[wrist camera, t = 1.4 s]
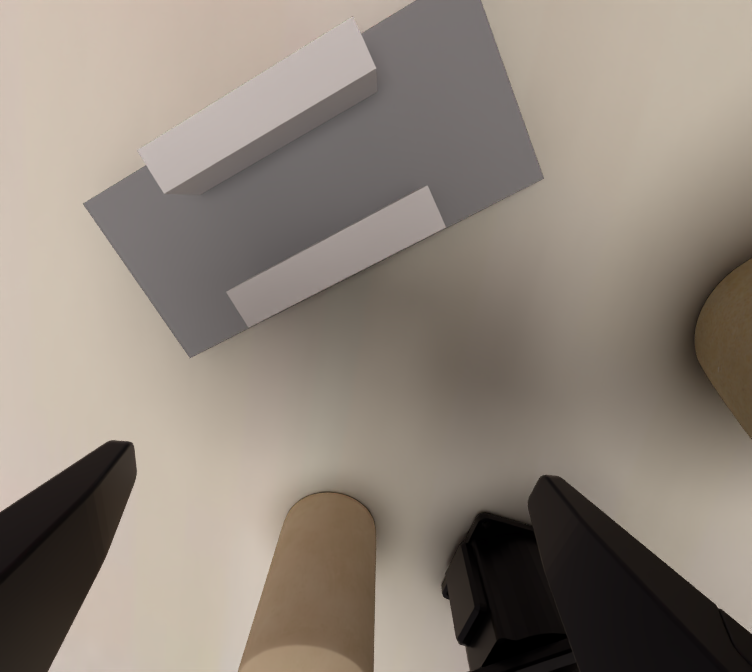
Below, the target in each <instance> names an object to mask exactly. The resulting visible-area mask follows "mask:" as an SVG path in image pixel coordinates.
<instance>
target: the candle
mask: <svg viewBox="0 0 752 672" xmlns="http://www.w3.org/2000/svg"><path fill="white" fill-rule="evenodd" d="M375 572H376V529H375V524H374V521H373V518H372V516H371V514H370V513H369V511H368V510H367V509H366V508H365V507H364V506H363V505H362V504H361V503H360V502H358V501H357V500H355V499H353V498H351V497H349V496H346V495H343V494H339V493H330V492H325V493H317V494H313V495H310V496H307V497H305V498H303V499H302V500H300V501H298V502H297V503H296V504H295V505H294V506H293V507H292V508H291V510H290V511H289V513H288V515H287V516H286V519H285V521H284V524H283V527H282V530H281V533H280V536H279V539H278V543H277V546H276V549H275V552H274V556H273V559H272V562H271V565H270V569H269V572H268V575H267V578H266V582H265V585H264V588H263V591H262V595H261V598H260V601H259V604H258V608H257V611H256V614H255V617H254V621H253V624H252V627H251V630H250V634H249V637H248V640H247V643H246V647H245V650H244V653H243V656H242V660H241V663H240V666H239V669H238V672H374V623H375Z"/></svg>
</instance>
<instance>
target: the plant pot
mask: <svg viewBox="0 0 752 672" xmlns="http://www.w3.org/2000/svg"><path fill="white" fill-rule="evenodd" d="M694 344H695V351H696V356H697V359H698V361H699V363H700V365H701V367H702V369H703V370H704V372H705V374H706V375H707V377H708V379H709V380H710V382H711V383H712V385H713V386H714V388H715V389H716V391H717V392H718V394H719V395H720V397H721V398H722V400H723V401H724V403H725V404H726V405H727V407H728V408H729V409H730V411H731V412H732V414H733V415H734V416H735V418H736V419H737V420H738V422H739V423H740V425H741V426H742V427H743V429H744V430H745V431H746V432H747V434H748V435H749V436H750V438H751V439H752V259H750V260H748V261H746V262H745V263H743V264H742V265H740V266H739V267H737V268H736V269H735V270H733V271H732V272H731V273H730V274H728V275H727V276H726V277H725V278H724V279H723V280H722V281H721V282H720V283H719V284H718V285H717V287H716V288H715V289H714V290H713V292H712V293H711V294H710V296H709V297H708V299H707V300H706V302H705V304H704V306H703V308H702V310H701V312H700V315H699V317H698V320H697V324H696V329H695V342H694Z"/></svg>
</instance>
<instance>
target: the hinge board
mask: <svg viewBox="0 0 752 672" xmlns="http://www.w3.org/2000/svg"><path fill="white" fill-rule="evenodd" d="M137 152H138V153H139V155H140V156H141V158H142V160H143V161H144V163H145V164H146V165H145V166H144V167H142V168H141V169H139V170H137V171H136V172H134V173H132V174H131V175H129V176H127V177H126V178H124V179H123V180H121V181H119V182H118V183H116V184H114V185H113V186H111V187H109V188H108V189H106V190H105V191H103V192H101V193H100V194H98V195H96V196H95V197H93V198H91V199H90V200H88V201H87V202H85V203H83V205H84V206H85V208H86V209H87V210H88V212H89V213H90V215H91V216H92V218H93V219H94V221H95V222H96V223H97V225H98V226H99V228H100V229H101V231H102V232H103V234H104V235H105V236H106V238H107V239H108V241H109V242H110V244H111V245H112V246H113V248H114V249H115V251H116V252H117V254H118V255H119V257H120V258H121V259H122V261H123V262H124V264H125V265H126V267H127V268H128V270H129V271H130V272H131V274H132V275H133V277H134V278H135V280H136V281H137V283H138V284H139V285H140V287H141V288H142V290H143V291H144V293H145V294H146V295H147V297H148V298H149V300H150V301H151V303H152V304H153V306H154V307H155V308H156V310H157V311H158V313H159V314H160V316H161V317H162V319H163V320H164V321H165V323H166V324H167V326H168V327H169V329H170V330H171V332H172V333H173V334H174V336H175V337H176V339H177V340H178V342H179V343H180V344H181V346H182V347H183V349H184V350H185V352H186V353H187V355H188V356H189V357H190V358H191V357H193V356H195V355H197V354H199V353H201V352H203V351H205V350H207V349H209V348H211V347H213V346H215V345H217V344H219V343H221V342H222V341H224V340H226V339H228V338H230V337H232V336H234V335H236V334H238V333H240V332H242V331H244V330H246V329H248V328H250V327H252V326H254V325H256V324H258V323H260V322H262V321H264V320H266V319H268V318H270V317H272V316H274V315H276V314H278V313H280V312H282V311H284V310H286V309H288V308H290V307H292V306H293V305H295V304H297V303H299V302H301V301H303V300H305V299H307V298H309V297H311V296H313V295H315V294H317V293H319V292H321V291H323V290H325V289H327V288H329V287H331V286H333V285H335V284H337V283H339V282H341V281H343V280H345V279H347V278H349V277H351V276H353V275H355V274H357V273H359V272H361V271H362V270H364V269H366V268H368V267H370V266H372V265H374V264H376V263H378V262H380V261H382V260H384V259H386V258H388V257H390V256H392V255H394V254H396V253H398V252H400V251H402V250H404V249H406V248H408V247H410V246H412V245H414V244H416V243H418V242H420V241H422V240H424V239H426V238H428V237H430V236H431V235H433V234H435V233H437V232H439V231H441V230H443V229H445V228H447V227H449V226H451V225H453V224H455V223H457V222H459V221H461V220H463V219H465V218H467V217H469V216H471V215H473V214H475V213H477V212H479V211H481V210H483V209H485V208H487V207H489V206H491V205H493V204H495V203H497V202H499V201H500V200H502V199H504V198H506V197H508V196H510V195H512V194H514V193H516V192H518V191H520V190H522V189H524V188H526V187H528V186H530V185H532V184H534V183H536V182H538V181H540V180H542V179H544V177H543V174H542V172H541V169H540V166H539V163H538V160H537V158H536V155H535V152H534V149H533V146H532V143H531V141H530V138H529V135H528V132H527V129H526V127H525V124H524V121H523V118H522V115H521V112H520V110H519V107H518V104H517V101H516V98H515V95H514V93H513V90H512V87H511V84H510V81H509V79H508V76H507V73H506V70H505V67H504V64H503V62H502V59H501V56H500V53H499V50H498V47H497V45H496V42H495V39H494V36H493V33H492V31H491V28H490V25H489V22H488V19H487V16H486V14H485V11H484V8H483V5H482V2H481V0H416V1H414V2H413V3H411V4H409V5H408V6H406V7H404V8H403V9H401V10H399V11H398V12H396V13H395V14H393V15H391V16H390V17H388V18H386V19H385V20H383V21H381V22H380V23H378V24H377V25H375V26H373V27H372V28H370V29H368V30H367V31H365V32H363V33H362V34H361V32H360V30H359V28H358V26H357V23H356V21H355V19H354V17H353V16H352V17H350V18H349V19H347V20H345V21H344V22H342V23H341V24H339V25H337V26H336V27H334V28H333V29H331V30H329V31H328V32H326V33H325V34H323V35H321V36H320V37H318V38H316V39H315V40H313V41H312V42H310V43H308V44H307V45H305V46H304V47H302V48H300V49H299V50H297V51H296V52H294V53H292V54H291V55H289V56H287V57H286V58H284V59H283V60H281V61H279V62H278V63H276V64H275V65H273V66H271V67H270V68H268V69H267V70H265V71H263V72H262V73H260V74H258V75H257V76H255V77H254V78H252V79H250V80H249V81H247V82H246V83H244V84H242V85H241V86H239V87H237V88H236V89H234V90H233V91H231V92H229V93H228V94H226V95H225V96H223V97H221V98H220V99H218V100H217V101H215V102H213V103H212V104H210V105H208V106H207V107H205V108H204V109H202V110H200V111H199V112H197V113H196V114H194V115H192V116H191V117H189V118H188V119H186V120H184V121H183V122H181V123H179V124H178V125H176V126H175V127H173V128H171V129H170V130H168V131H167V132H165V133H163V134H162V135H160V136H158V137H157V138H155V139H154V140H152V141H150V142H149V143H147V144H146V145H144V146H142V147H141V148H139V149H138V150H137Z"/></svg>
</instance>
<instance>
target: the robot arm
mask: <svg viewBox="0 0 752 672" xmlns="http://www.w3.org/2000/svg"><path fill="white" fill-rule="evenodd" d="M136 475H137V468H136V459H135V449H134V445H133V443H132V442H129V441H116V440H111V441H108V442H106V443H105V444H103V445H101V446H100V447H98V448H97V449H95V450H94V451H92V452H91V453H89V454H88V455H86V456H85V457H83V458H82V459H80V460H79V461H77V462H76V463H74V464H73V465H71V466H70V467H68V468H66V469H65V470H63V471H62V472H60V473H59V474H57V475H56V476H54V477H53V478H51V479H50V480H48V481H47V482H45V483H44V484H42V485H41V486H39V487H38V488H36V489H35V490H33V491H32V492H30V493H28V494H27V495H25V496H24V497H22V498H21V499H19V500H18V501H16V502H15V503H13V504H12V505H10V506H9V507H7V508H6V509H4V510H3V511H1V512H0V672H48V670H49V668H50V666H51V664H52V662H53V660H54V658H55V656H56V655H57V653H58V651H59V649H60V647H61V645H62V643H63V641H64V639H65V637H66V635H67V633H68V631H69V629H70V627H71V625H72V623H73V621H74V619H75V617H76V615H77V613H78V611H79V609H80V608H81V606H82V604H83V602H84V600H85V598H86V596H87V594H88V592H89V590H90V588H91V586H92V584H93V582H94V580H95V578H96V576H97V574H98V572H99V570H100V568H101V566H102V564H103V562H104V560H105V558H106V555H107V553H108V550H109V548H110V545H111V543H112V540H113V538H114V535H115V532H116V530H117V527H118V525H119V522H120V519H121V517H122V514H123V512H124V509H125V506H126V504H127V501H128V499H129V496H130V493H131V491H132V488H133V486H134V483H135V480H136ZM528 509H529V513H530V517H531V521H532V525H533V526H530V525H527V524H523V523H520V522H516V521H513V520H509V519H506V518H502V517H499V516H495V515H492V514H488V513H482V514H480V515H478V516H477V517H476V519H475V521H474V523H473V525H472V527H471V529H470V531H469V533H468V535H467V537H466V539H465V541H464V542H463V543H462V544H460V546H459V548H458V550H457V552H456V554H455V556H454V558H453V560H452V562H451V564H450V566H449V568H448V570H447V572H446V578H445V580H444V582H443V584H442V587H441V588H442V594H443V597H444V598H446V599H449V600H450V605H451V611H452V617H453V623H454V629H455V635H456V639H457V641H458V643H459V644H460V645H463V646H465V647H466V653H467V658H468V663H469V669H470V671H468V672H752V634H751V633H750V632H749V631H747V630H746V629H745V628H744V627H742V626H741V625H740V624H739V623H737V622H736V621H735V620H734V619H733V618H731V617H730V616H729V615H728V614H727V613H725V612H724V611H723V610H722V609H719V608H717V606H716V604H714V603H713V602H712V601H711V600H709V599H708V598H707V597H706V596H705V595H703V594H702V593H701V592H700V591H699V590H697V589H696V588H695V587H694V586H692V585H691V584H690V583H689V582H688V581H686V580H685V579H684V578H683V577H682V576H680V575H679V574H678V573H677V572H675V571H674V570H673V569H672V568H671V567H669V566H668V565H667V564H666V563H664V562H663V561H662V560H661V559H660V558H658V557H657V556H656V555H655V554H654V553H652V552H651V551H650V550H649V549H647V548H646V547H645V546H644V545H643V544H641V543H640V542H639V541H638V540H637V539H635V538H634V537H633V536H632V535H630V534H629V533H628V532H627V531H626V530H624V529H623V528H622V527H621V526H620V525H618V524H617V523H616V522H615V521H613V520H612V519H611V518H610V517H609V516H607V515H606V514H605V513H604V512H603V511H601V510H600V509H599V508H598V507H596V506H595V505H594V504H593V503H592V502H590V501H589V500H588V499H587V498H585V497H584V496H583V495H582V494H581V493H579V492H578V491H577V490H576V489H575V488H573V487H572V486H571V485H570V484H568V483H567V482H566V481H565V480H564V479H562V478H561V477H559V476H552V475H543V476H541V477H540V478H539V480H538V481H537V483H536V485H535V487H534V489H533V491H532V492H531V494H530V496H529V499H528ZM483 522H487V523H485V524H484V523H483Z"/></svg>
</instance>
